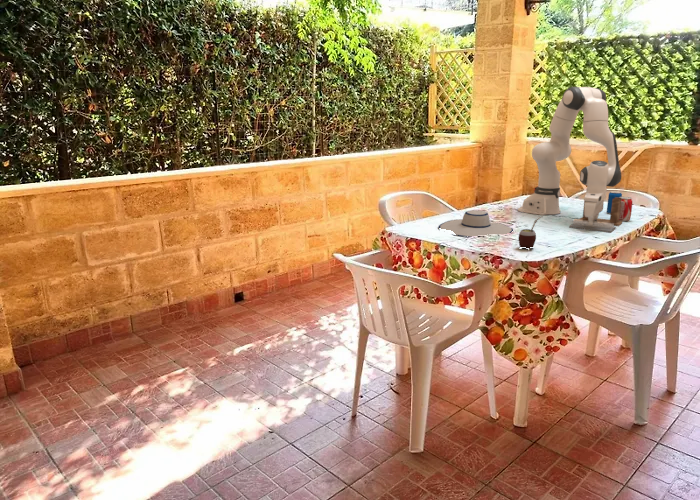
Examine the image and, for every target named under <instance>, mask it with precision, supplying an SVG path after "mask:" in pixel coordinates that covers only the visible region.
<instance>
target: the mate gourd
mask: <svg viewBox="0 0 700 500" xmlns="http://www.w3.org/2000/svg"><path fill="white" fill-rule="evenodd" d="M543 216H544V215H540V216H539V217H537V218H536V219H535V220H534V222H533V225H532V227H531V229H528V228H525V229H521V230H520V231H519V232H518V233H519V234H518V244H519V248H520V247H526V248H530V247H534V246H535V242H536V239H537V234H536V231H535V230H534V227H535V225H536V223H537V222H538V220H541V218H543Z"/></svg>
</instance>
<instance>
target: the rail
mask: <svg viewBox="0 0 700 500" xmlns="http://www.w3.org/2000/svg"><path fill="white" fill-rule="evenodd" d="M588 223H589V221H588V220H580V218H574V219H573V220H572V224H573V225H579V226H588V227H596V228H604V229H613V228H614V227H615V226H614V223H607V222H598V221H593V225H589V224H588Z"/></svg>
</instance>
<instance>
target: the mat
mask: <svg viewBox="0 0 700 500" xmlns="http://www.w3.org/2000/svg"><path fill="white" fill-rule="evenodd" d="M568 228H570V229H579V230H586V231H587V230H588V231H593V232H595V231H596V232H603V233H609V234H610V233H612V232H614V230H616V229H617V226H614V228H613V229H604V228H596V227H588V226H579V225H573V223H572V224H570V225H569V226H568Z"/></svg>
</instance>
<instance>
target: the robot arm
mask: <svg viewBox="0 0 700 500" xmlns="http://www.w3.org/2000/svg"><path fill="white" fill-rule="evenodd" d="M580 111H582V113H583V119H582V122H583V123H582V132H583V135H584V136H585V138H587V139H589V141H592V142H594V143H598V144H599V145H602V146H603V147H604V148H605V150H606V154H607V162H606V161H605V160H592V161H591V162H590V164H589V165H588V166H585V167H583V168H582V169H581V170H580V174H579V182H581V184H583V185H584V186H587V187H586V190H585V195H584V198H583V201H585V208H584V207H583V209H584V215H585V217H588V221H589V223H588V224H589V225H593V221H597V219H598V218H599V216H600V213H601V212H603V210H604V204H605V203H604V201H605V200H606V198H607V192H608V191H607V190H608V188H607V187H610V188H611V187H616V186H617V185H618V184H619V183H620V182H621V181H622V170H621V166H620V165H621V164H620V161H619V159H620V158H619V152H618V151H619V150H618V144H617V137H616V135H615V133H614V132H612V131H611V129H610V127H609V108H608V104H607V94H606V92H605V91H604V90H603V89H601V88H599V87H598V88H597V87H596V88H595V87H591V86H571V87H568V88H566V90H565V91H564V92H563V95H562V98H561V99H560V101H559V103H558V105H557V107H556V108H555V111H554V114H553V117H552V119H551V121H550V125H549V127H548V129H549V132H550V134H551V135H550V140H549V141H545V142H543V141H542V142H541V143H540V142H539V143H538V144H535V146H533V148H532V150H531V156H532V159H533V161H535V162H536V165H537V168H538V169H537V171H538V181H537V182H538V183H537V184H538V185H537V186H535V187H534V188H533V193H531V195H529V196H528V197H526V198H525V199H524V200H523V202H522V206H520V207H518V208H517V211H518V212H520V213H521V212H522V213H527V214H532V215H533V214H534V215H538V216H539V215H540V216H545V215H558V214H560V213H561V210H560V201H559V200H560V195H561V187H560V183H561V172H560V171H559V170H558V168H557V162H561V161H564V160H565V159H568V158H569V157H570V156H571V155H572V146H571V145H570V139H571V137H570V136H571V133H572V131H573V127H574V124H575V122H576V120H577V117H578V114H579V112H580Z"/></svg>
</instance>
